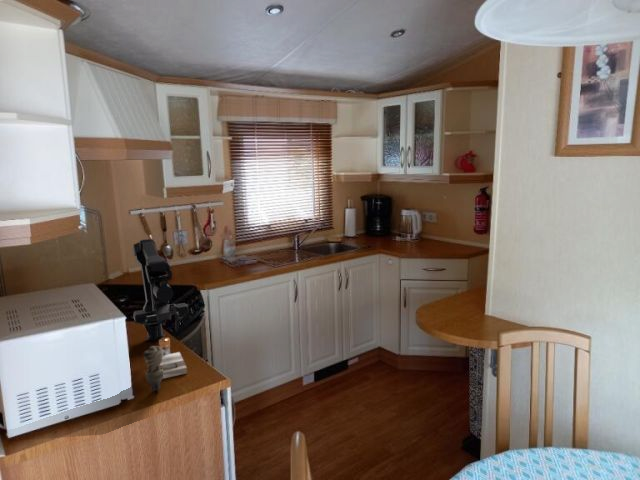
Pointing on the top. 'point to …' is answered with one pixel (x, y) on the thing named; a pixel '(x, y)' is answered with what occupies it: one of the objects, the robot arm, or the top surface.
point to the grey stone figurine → (154, 367)
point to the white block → (173, 365)
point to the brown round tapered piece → (165, 345)
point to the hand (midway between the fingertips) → (163, 334)
